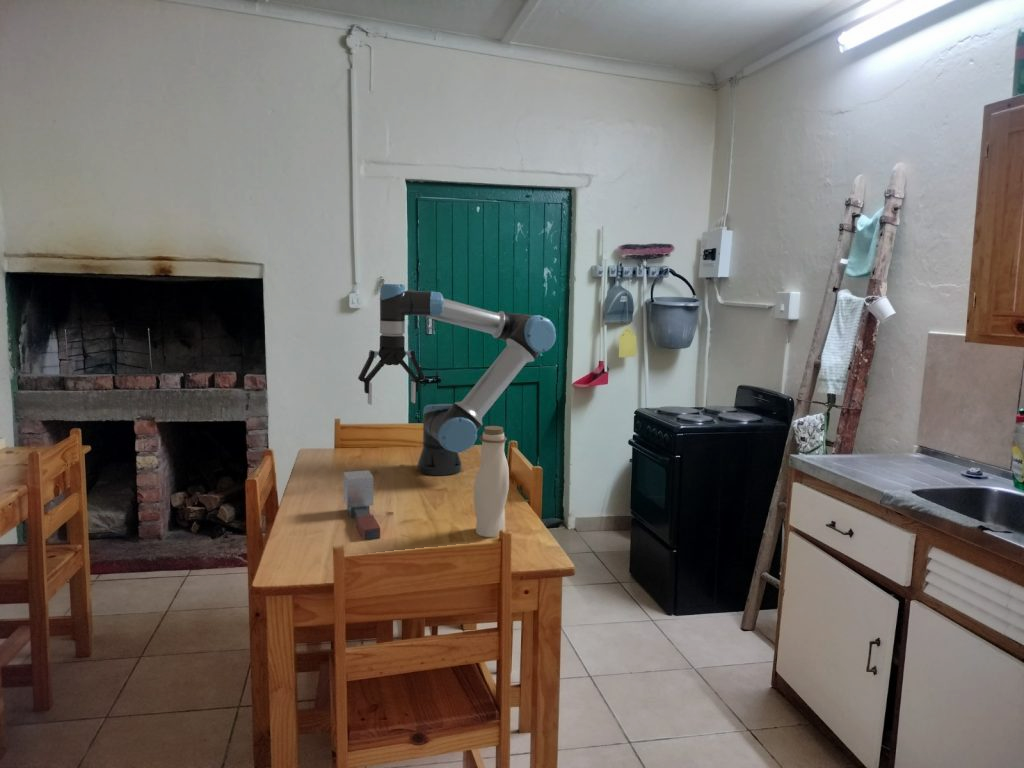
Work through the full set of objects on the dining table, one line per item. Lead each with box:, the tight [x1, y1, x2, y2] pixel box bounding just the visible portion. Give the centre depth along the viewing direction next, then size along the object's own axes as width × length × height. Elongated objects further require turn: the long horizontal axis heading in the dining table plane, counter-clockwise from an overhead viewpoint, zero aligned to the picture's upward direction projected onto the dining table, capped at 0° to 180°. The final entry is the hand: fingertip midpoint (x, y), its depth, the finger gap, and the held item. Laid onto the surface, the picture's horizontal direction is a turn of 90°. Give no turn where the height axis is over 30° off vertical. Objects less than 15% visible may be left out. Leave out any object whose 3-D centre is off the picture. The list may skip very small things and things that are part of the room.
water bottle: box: [473, 425, 510, 538], centre depth 177 cm, size 10×9×28 cm
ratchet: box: [346, 506, 381, 541], centre depth 181 cm, size 5×24×7 cm, turn 22°
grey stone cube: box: [343, 469, 374, 509], centre depth 188 cm, size 7×7×8 cm
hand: (391, 403), depth 211 cm, fingers open, 13 cm apart
